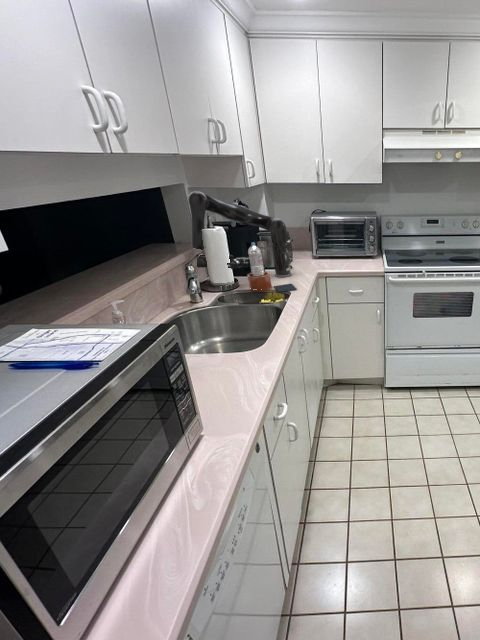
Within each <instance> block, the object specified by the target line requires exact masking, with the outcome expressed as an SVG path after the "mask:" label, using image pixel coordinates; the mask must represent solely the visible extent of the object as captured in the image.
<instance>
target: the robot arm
mask: <svg viewBox="0 0 480 640" xmlns="http://www.w3.org/2000/svg"><path fill="white" fill-rule="evenodd" d="M187 203H188V204H189V210H190V216H191V218H190V219H191V226H190V227H191V229H190V247H191V249H193V248H196V249H201V250H203V249H204V246H203V240H202V231H201V230H202V229H205V230H206V227H205V219H206V218H205V217H206V211H207V212H211V213H214V214H217V215H219V216H221V217H223V218H225V219H227V220H229V221H232V222H235V223H238V224H241V225H245V226H251V227H257V228H260V229H263V230H265V231H267V232H269V233H270V246H271V253H272V259H273V265H274V271H275V272H274V274H275V277H277V278H287V277H290V276H292V272H291V270H292V268H293V266H292V264H290V261H292V260H293V259H292V258H291V260H290V259H289V258H290V254H289V248H288V247H289V246H288V234H287V233H288V232H287V227H286V223H285V222H284V221H283V220H282V219H280V218H278V217H273V216H269V215H265V214H262V213H259V212H257V211H255V210H253V209H250V208H248V207H245V206H243V205H240V204H236V203H233V202H230V201H226V200H221V199H219V198H215V197H213V196H211V195H208V194H206V193H204V192H202V191H200V190H193V191H191V192H190V193H188V197H187ZM228 255H229V259H230V263H227V265H228V268H231V269H230V270H234V269H239V268H248V264H250V259H249V256H239V257H235V256H234V255H232V254H228ZM197 267H198V269H199V268H208V267H207V261H206V257H205V255H200V256H199V257H198V258H197ZM197 267H196V268H197Z"/></svg>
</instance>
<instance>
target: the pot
mask: <svg viewBox="0 0 480 640" xmlns="http://www.w3.org/2000/svg"><path fill="white" fill-rule="evenodd" d="M264 272H265V276H261V277H252V272H249V273H247V274H246V276H247V281H248V287H249V290H250V291H251V292H256V293H260V292H266V291H269V290H270V289H272V288H273V287H272V281H271V274H270V272H268V271H264ZM250 288H251V289H250ZM253 289H257V290H253ZM261 289H262V290H261Z"/></svg>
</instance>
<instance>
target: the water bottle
mask: <svg viewBox="0 0 480 640" xmlns="http://www.w3.org/2000/svg"><path fill="white" fill-rule="evenodd" d="M247 254H248V257H249V259H250V263H249V264H250V271H251V272H250V273H252V277H261V276H265V272H266V271H265V265H264V261H263V257H262V256H263V255H262V254H263V253H262V250H261V248H260V247H259V246H258V245H256V242H254V241H253V242H251V245H250V247H249V248H248V250H247Z"/></svg>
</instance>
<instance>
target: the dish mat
mask: <svg viewBox="0 0 480 640" xmlns="http://www.w3.org/2000/svg"><path fill="white" fill-rule="evenodd" d="M273 288H274V289H275V290H276V292H278V293H279V294H280V293H286V292H292V291H293V292H294V291H298V290H297V288H296V287H295V286H294V284H292V283H286V284H278V285H274V286H273Z"/></svg>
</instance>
